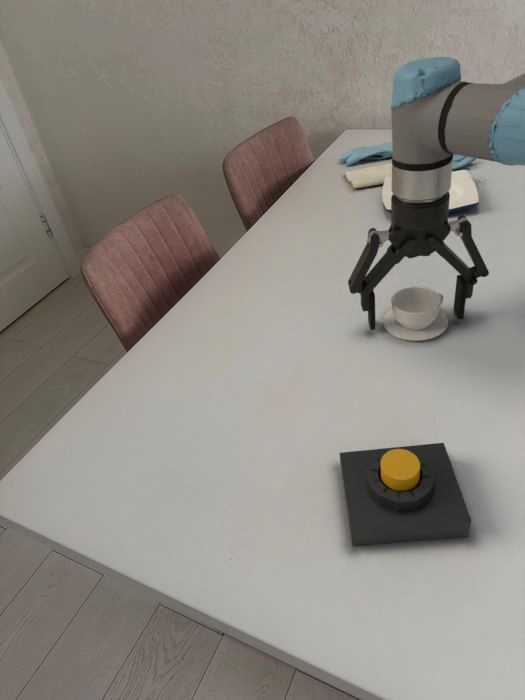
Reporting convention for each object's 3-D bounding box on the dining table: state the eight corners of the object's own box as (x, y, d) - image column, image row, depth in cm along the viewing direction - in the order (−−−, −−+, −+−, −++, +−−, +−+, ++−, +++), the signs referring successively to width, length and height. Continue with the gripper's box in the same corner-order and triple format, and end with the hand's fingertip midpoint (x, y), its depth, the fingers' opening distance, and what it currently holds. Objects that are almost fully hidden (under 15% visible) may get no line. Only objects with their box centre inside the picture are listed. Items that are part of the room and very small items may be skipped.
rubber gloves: (334, 156, 145) (332, 133, 141) (446, 136, 144) (448, 112, 140) (353, 191, 124) (352, 165, 120) (485, 167, 122) (488, 140, 118)
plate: (469, 178, 119) (470, 167, 117) (482, 216, 104) (484, 204, 102) (381, 186, 124) (381, 175, 122) (382, 223, 108) (381, 211, 107)
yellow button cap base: (441, 459, 59) (444, 432, 56) (468, 537, 52) (473, 509, 49) (341, 469, 61) (338, 442, 58) (351, 546, 53) (349, 520, 50)
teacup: (408, 351, 75) (409, 326, 72) (371, 319, 83) (370, 296, 80) (462, 327, 77) (465, 302, 74) (421, 298, 85) (422, 275, 82)
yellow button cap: (414, 458, 55) (415, 446, 53) (423, 489, 52) (424, 477, 50) (377, 462, 55) (377, 450, 54) (384, 493, 52) (384, 481, 51)
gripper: (506, 167, 68) (487, 296, 81) (324, 195, 71) (334, 315, 84) (529, 188, 62) (504, 324, 75) (329, 217, 65) (339, 343, 78)
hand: (414, 319), depth 80 cm, fingers open, 13 cm apart
